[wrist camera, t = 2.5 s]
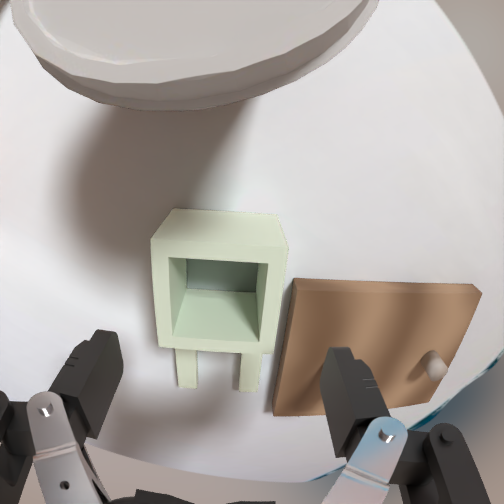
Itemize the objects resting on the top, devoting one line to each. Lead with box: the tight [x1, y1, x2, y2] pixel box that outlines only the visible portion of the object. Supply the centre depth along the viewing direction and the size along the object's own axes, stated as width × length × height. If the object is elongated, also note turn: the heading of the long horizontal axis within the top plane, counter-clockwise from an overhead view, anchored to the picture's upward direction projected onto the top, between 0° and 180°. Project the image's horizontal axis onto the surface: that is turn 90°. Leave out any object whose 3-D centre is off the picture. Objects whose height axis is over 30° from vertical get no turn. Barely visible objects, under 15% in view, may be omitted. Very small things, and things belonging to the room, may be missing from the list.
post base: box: [272, 278, 482, 416], centre depth 20 cm, size 15×12×6 cm
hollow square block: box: [150, 208, 289, 392], centre depth 18 cm, size 14×6×5 cm, turn 175°
